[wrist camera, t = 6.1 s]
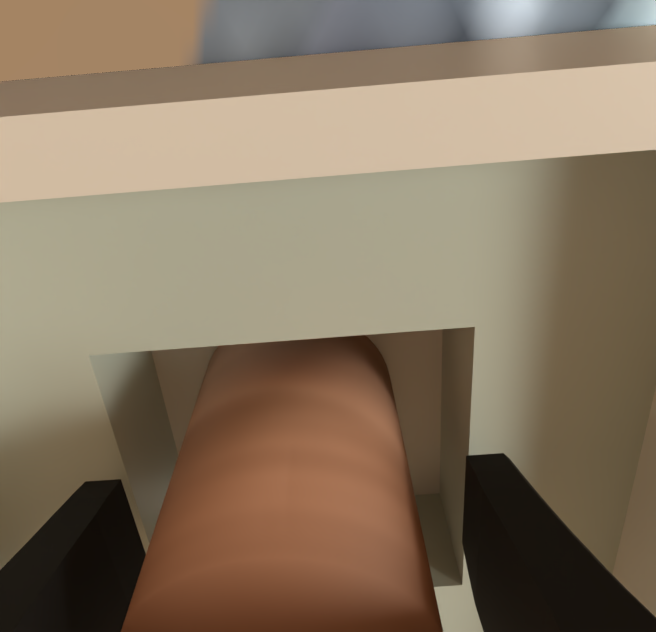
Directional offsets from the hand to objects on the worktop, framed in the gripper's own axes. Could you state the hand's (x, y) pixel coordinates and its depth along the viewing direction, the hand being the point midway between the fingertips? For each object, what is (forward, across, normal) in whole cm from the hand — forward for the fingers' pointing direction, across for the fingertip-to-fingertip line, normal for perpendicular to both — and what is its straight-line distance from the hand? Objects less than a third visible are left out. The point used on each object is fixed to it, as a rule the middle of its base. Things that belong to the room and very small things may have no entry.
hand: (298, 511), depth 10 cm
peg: (+3, 0, 0) cm, 3 cm away
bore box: (+4, 0, 0) cm, 4 cm away
